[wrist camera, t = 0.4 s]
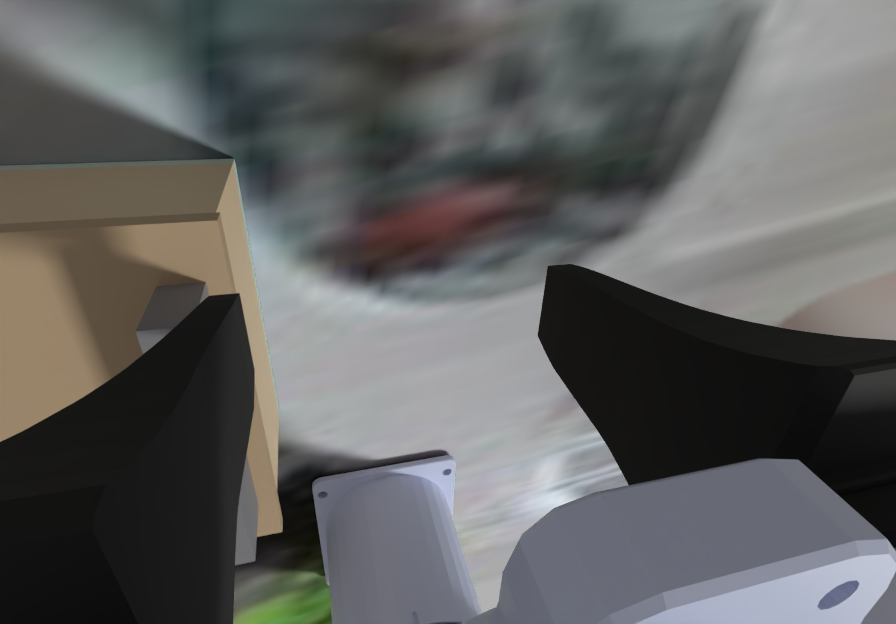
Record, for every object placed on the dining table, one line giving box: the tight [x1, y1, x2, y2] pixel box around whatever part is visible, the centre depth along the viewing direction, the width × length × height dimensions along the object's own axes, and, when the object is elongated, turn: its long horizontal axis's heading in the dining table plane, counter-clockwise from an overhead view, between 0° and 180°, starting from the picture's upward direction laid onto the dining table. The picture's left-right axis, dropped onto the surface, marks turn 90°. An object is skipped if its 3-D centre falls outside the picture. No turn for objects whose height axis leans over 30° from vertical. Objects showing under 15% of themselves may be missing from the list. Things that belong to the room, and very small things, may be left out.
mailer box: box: [0, 159, 279, 489], centre depth 18 cm, size 12×14×6 cm
